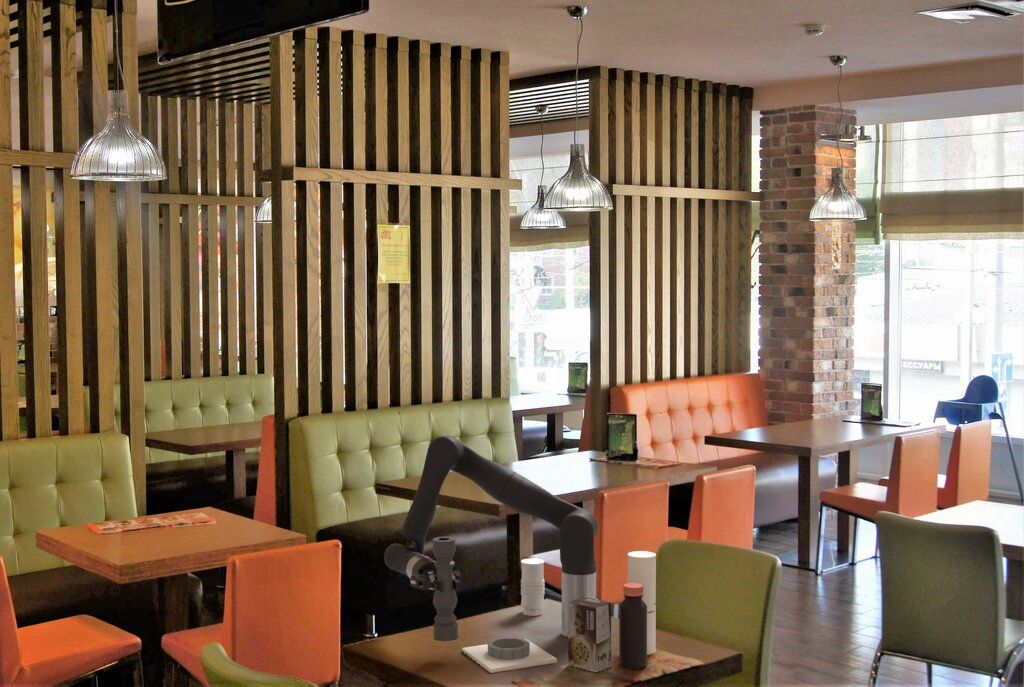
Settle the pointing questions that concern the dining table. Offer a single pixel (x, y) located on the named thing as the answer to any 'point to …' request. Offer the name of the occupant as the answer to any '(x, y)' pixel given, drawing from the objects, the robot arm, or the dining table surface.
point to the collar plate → (508, 664)
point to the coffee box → (589, 634)
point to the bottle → (633, 628)
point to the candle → (532, 586)
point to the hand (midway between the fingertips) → (449, 586)
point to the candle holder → (445, 590)
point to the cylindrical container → (645, 589)
